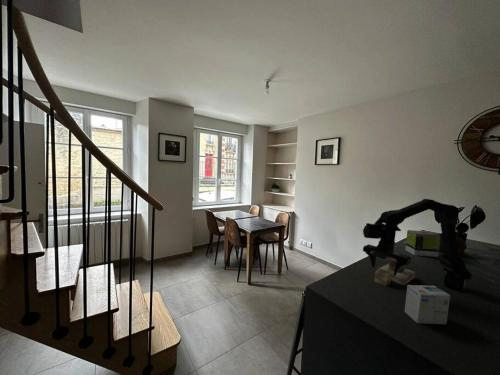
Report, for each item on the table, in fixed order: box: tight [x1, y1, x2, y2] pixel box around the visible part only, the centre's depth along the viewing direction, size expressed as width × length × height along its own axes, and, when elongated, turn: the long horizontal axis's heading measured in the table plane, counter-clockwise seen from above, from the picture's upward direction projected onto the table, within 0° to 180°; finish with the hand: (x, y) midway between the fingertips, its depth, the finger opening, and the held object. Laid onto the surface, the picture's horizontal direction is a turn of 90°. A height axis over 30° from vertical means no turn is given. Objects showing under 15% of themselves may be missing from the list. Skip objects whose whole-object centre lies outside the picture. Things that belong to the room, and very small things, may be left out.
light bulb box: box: [404, 284, 451, 325], centre depth 78 cm, size 11×7×11 cm, turn 92°
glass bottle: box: [437, 227, 467, 255], centre depth 153 cm, size 18×18×28 cm
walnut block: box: [389, 258, 406, 273], centre depth 110 cm, size 5×5×5 cm
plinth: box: [376, 262, 416, 286], centre depth 111 cm, size 12×14×3 cm
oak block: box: [374, 269, 392, 287], centre depth 104 cm, size 5×5×5 cm
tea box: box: [405, 229, 440, 258], centre depth 147 cm, size 15×10×15 cm
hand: (383, 271), depth 103 cm, fingers open, 9 cm apart
